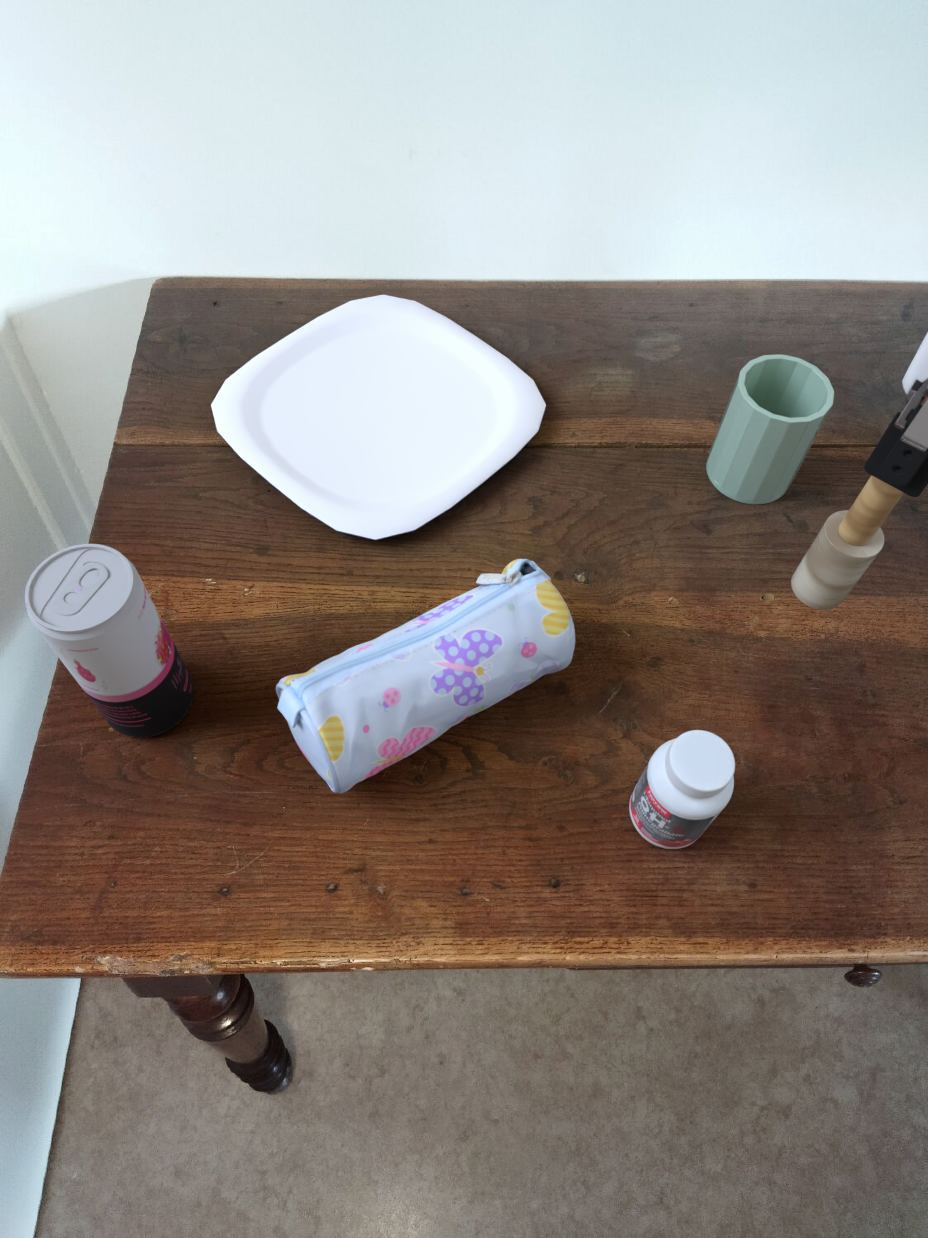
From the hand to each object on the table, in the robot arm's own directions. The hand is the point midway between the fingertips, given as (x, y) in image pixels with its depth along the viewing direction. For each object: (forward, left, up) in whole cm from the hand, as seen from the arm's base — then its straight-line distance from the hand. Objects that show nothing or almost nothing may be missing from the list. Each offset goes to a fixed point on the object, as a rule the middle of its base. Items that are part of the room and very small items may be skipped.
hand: (904, 462), depth 48 cm
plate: (+40, 0, -23) cm, 46 cm away
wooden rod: (0, 0, -12) cm, 12 cm away
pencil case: (+18, +19, -23) cm, 35 cm away
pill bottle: (0, +15, -23) cm, 28 cm away
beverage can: (+34, +32, -23) cm, 52 cm away
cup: (+11, -16, -23) cm, 30 cm away
